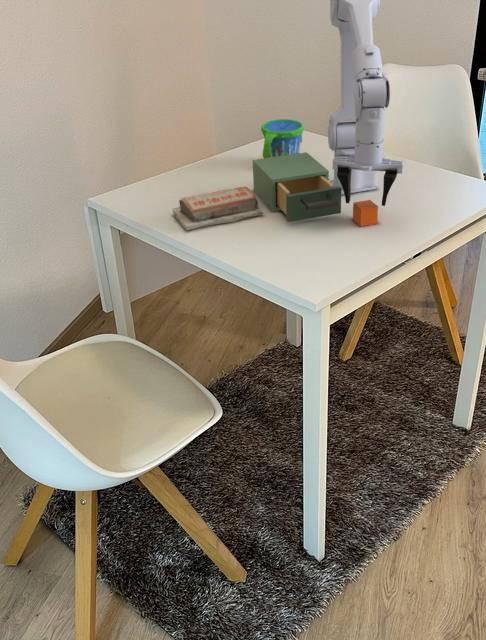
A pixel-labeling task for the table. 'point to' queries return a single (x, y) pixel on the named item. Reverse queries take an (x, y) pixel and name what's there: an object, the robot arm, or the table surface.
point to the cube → (365, 213)
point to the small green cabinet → (283, 174)
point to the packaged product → (217, 208)
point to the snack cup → (281, 137)
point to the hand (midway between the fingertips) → (365, 202)
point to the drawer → (308, 198)
